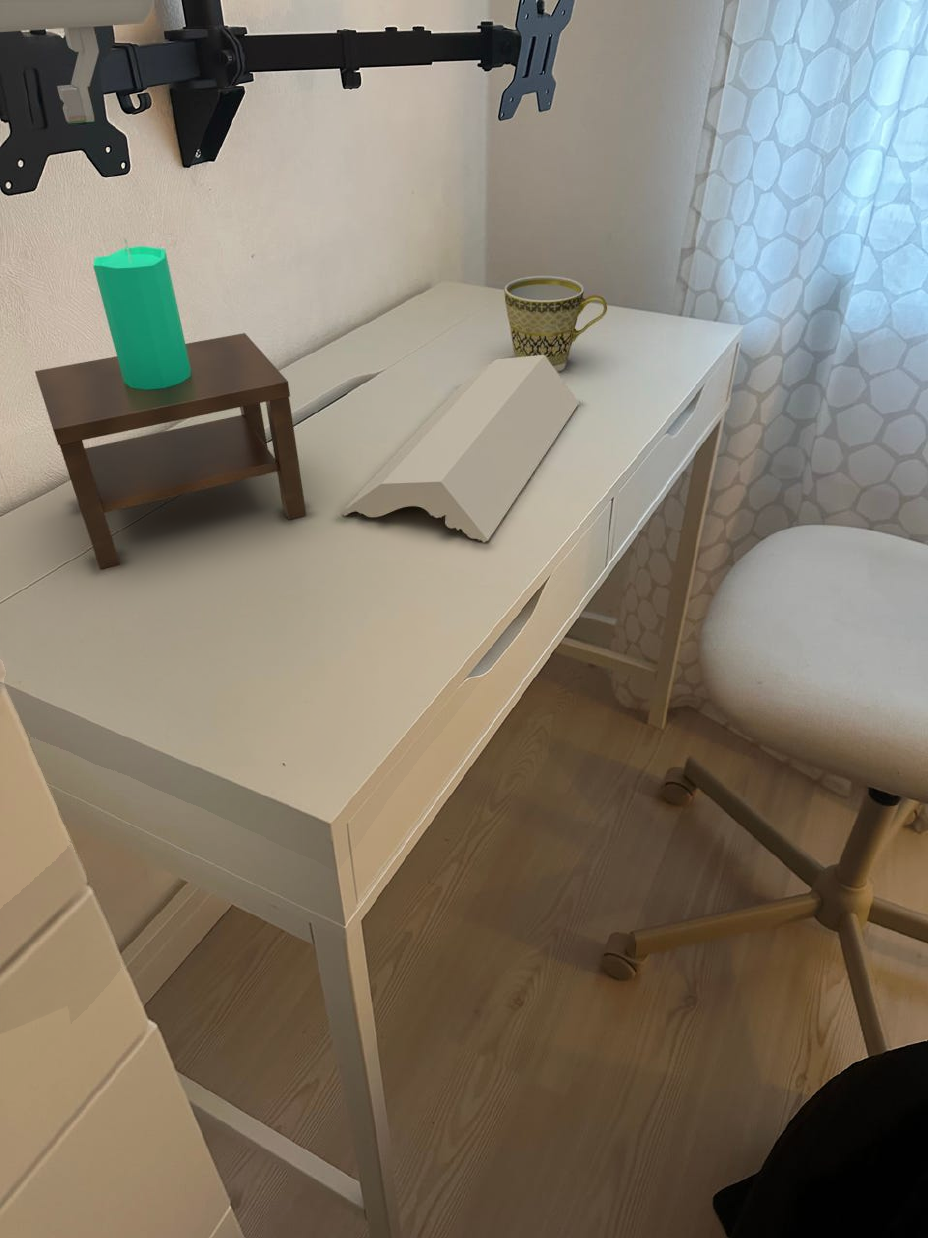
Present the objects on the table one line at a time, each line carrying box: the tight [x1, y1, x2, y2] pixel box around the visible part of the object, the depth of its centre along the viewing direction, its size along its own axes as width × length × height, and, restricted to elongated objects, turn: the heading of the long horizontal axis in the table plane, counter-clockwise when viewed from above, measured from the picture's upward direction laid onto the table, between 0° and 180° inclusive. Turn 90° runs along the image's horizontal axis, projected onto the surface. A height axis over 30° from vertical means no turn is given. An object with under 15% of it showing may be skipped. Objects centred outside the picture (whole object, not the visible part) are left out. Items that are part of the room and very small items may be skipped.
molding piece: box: [341, 355, 580, 544], centre depth 98 cm, size 32×12×10 cm
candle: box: [92, 236, 191, 390], centre depth 78 cm, size 6×6×12 cm
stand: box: [34, 332, 307, 570], centre depth 86 cm, size 20×14×14 cm
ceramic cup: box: [503, 275, 608, 373], centre depth 114 cm, size 13×10×10 cm
